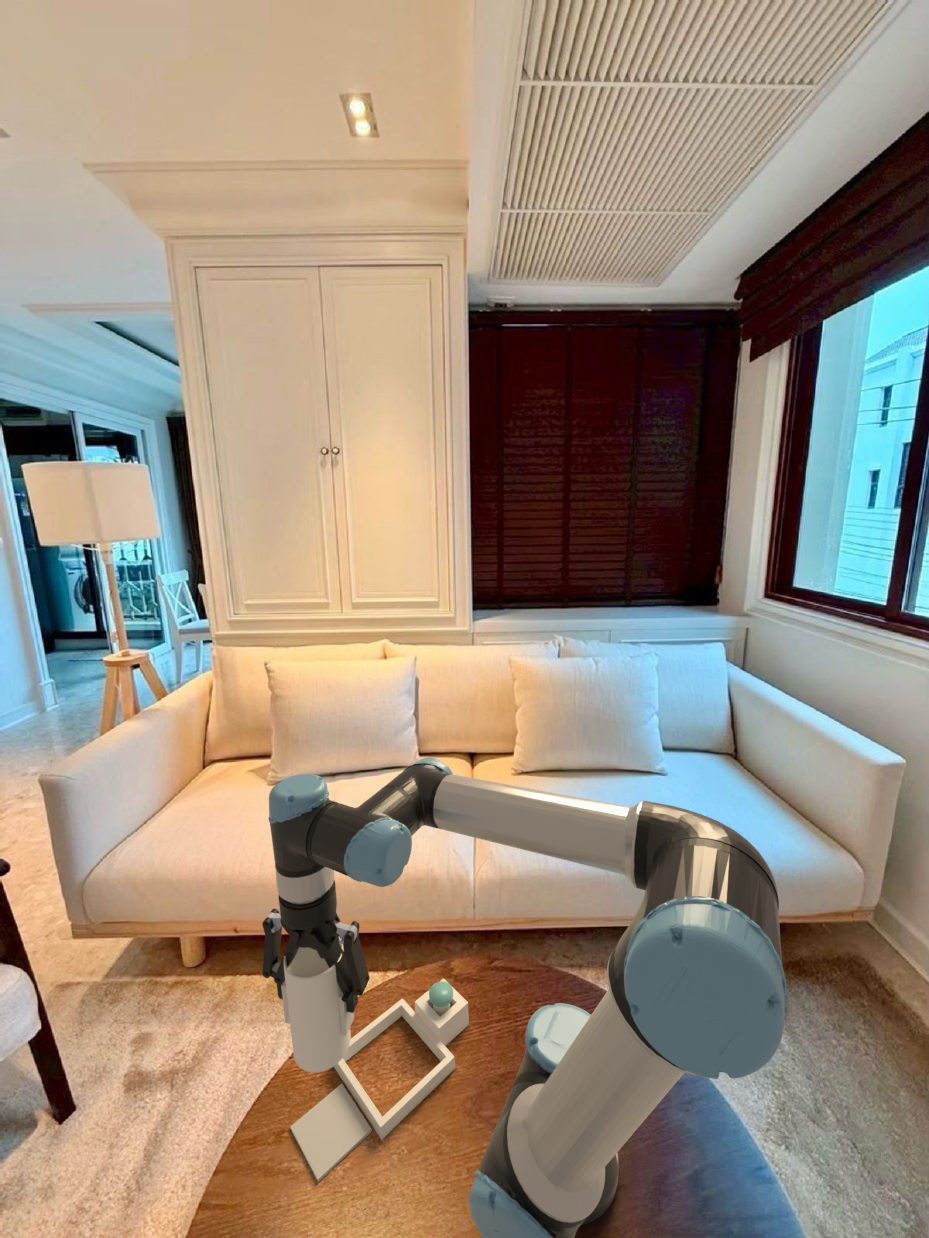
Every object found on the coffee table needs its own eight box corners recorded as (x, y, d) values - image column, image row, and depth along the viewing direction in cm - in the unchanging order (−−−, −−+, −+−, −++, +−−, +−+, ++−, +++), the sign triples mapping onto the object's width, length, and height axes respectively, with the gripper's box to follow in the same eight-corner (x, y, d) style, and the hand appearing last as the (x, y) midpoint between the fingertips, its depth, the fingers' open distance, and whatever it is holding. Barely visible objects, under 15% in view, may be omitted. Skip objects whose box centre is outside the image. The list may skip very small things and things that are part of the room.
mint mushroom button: (458, 1013, 96) (458, 992, 95) (440, 1029, 94) (439, 1007, 93) (443, 997, 100) (442, 977, 99) (425, 1012, 97) (424, 991, 96)
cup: (341, 1007, 83) (334, 921, 79) (358, 1053, 76) (350, 961, 72) (288, 1033, 79) (278, 944, 76) (300, 1084, 72) (289, 988, 69)
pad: (371, 1131, 81) (371, 1128, 81) (318, 1182, 75) (317, 1179, 75) (342, 1085, 87) (341, 1083, 87) (290, 1128, 81) (290, 1126, 81)
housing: (483, 1040, 94) (483, 1017, 93) (381, 1139, 80) (379, 1114, 78) (431, 986, 105) (430, 965, 104) (332, 1065, 90) (330, 1041, 89)
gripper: (388, 877, 73) (396, 1009, 78) (255, 858, 77) (270, 984, 82) (367, 917, 66) (377, 1060, 71) (221, 894, 70) (240, 1030, 75)
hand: (319, 1019), depth 76 cm, fingers closed on cup, 8 cm apart
